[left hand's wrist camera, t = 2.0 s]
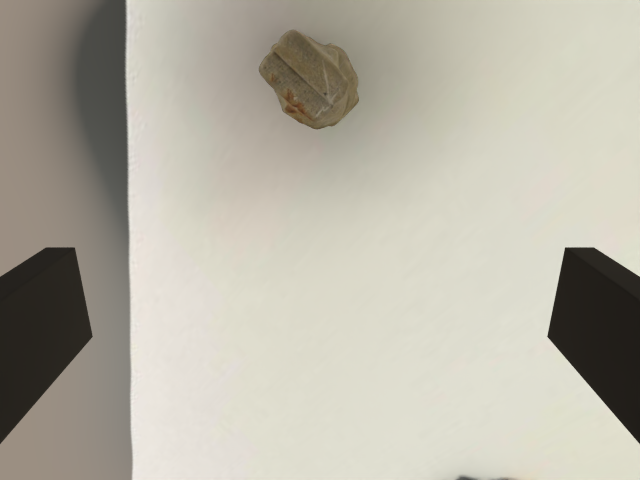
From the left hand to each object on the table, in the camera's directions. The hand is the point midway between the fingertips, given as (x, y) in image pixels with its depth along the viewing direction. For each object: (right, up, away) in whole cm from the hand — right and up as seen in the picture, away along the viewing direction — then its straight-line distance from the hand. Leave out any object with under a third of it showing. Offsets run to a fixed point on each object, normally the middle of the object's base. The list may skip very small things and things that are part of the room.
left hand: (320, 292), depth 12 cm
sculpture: (0, +16, +28) cm, 32 cm away
